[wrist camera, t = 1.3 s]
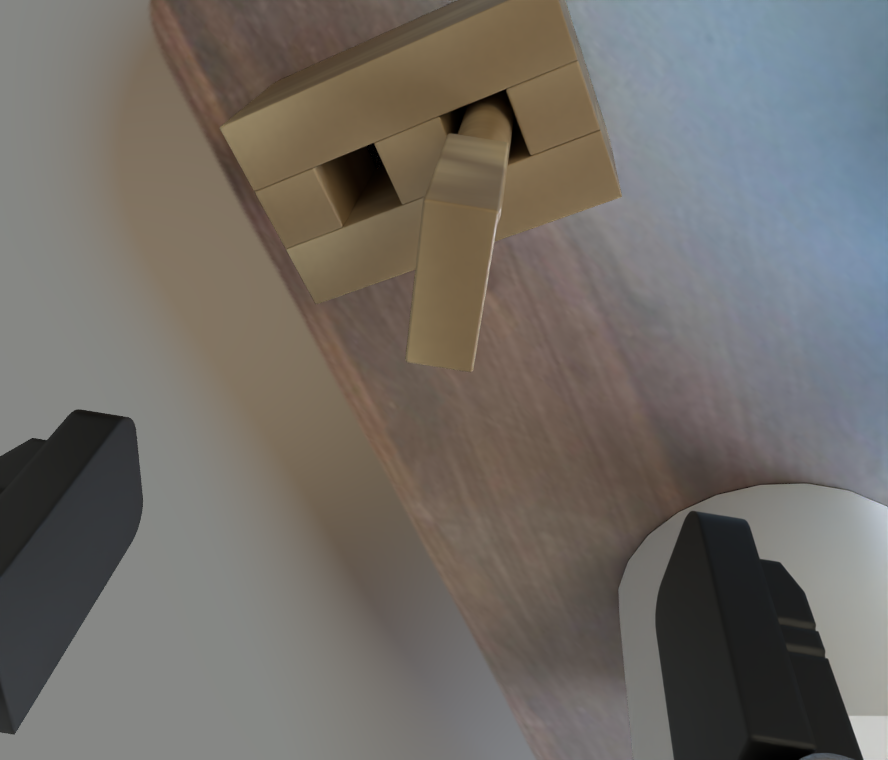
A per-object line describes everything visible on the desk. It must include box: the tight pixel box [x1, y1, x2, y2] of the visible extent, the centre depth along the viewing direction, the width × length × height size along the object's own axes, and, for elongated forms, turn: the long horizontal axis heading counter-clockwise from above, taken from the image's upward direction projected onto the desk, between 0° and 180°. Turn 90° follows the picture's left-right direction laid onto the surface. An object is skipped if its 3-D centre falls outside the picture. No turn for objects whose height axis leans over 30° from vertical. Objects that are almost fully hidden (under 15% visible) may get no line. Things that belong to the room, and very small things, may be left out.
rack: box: [220, 0, 622, 304], centre depth 32 cm, size 7×12×7 cm, turn 113°
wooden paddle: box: [405, 89, 514, 372], centre depth 26 cm, size 2×4×19 cm, turn 173°
